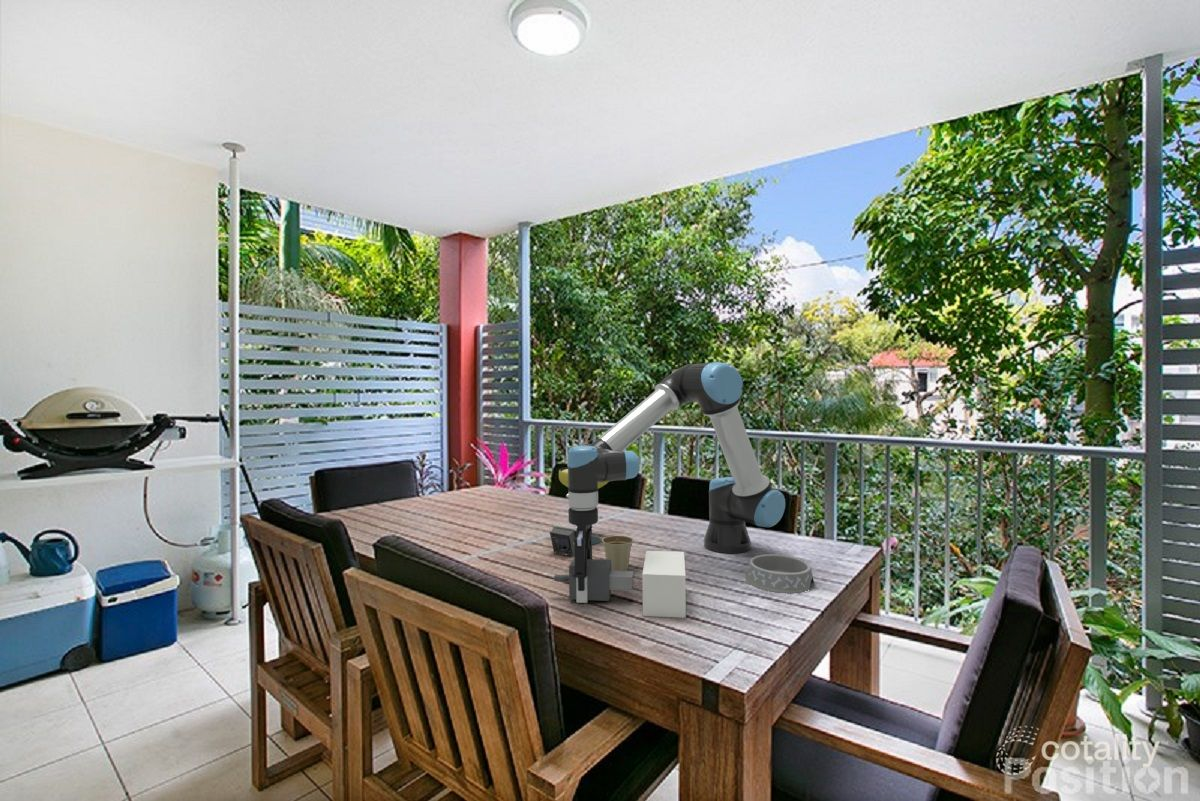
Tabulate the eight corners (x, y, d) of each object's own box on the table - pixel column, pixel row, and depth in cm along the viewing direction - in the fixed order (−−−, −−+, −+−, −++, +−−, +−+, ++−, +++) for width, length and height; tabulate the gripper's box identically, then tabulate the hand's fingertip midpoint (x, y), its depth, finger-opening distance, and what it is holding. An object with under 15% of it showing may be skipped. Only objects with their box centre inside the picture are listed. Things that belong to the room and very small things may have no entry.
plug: (633, 592, 143) (633, 560, 142) (632, 601, 137) (631, 568, 136) (556, 589, 145) (555, 557, 145) (551, 598, 139) (550, 565, 139)
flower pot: (638, 565, 166) (638, 537, 165) (626, 576, 157) (626, 546, 157) (609, 561, 170) (609, 533, 169) (596, 571, 161) (596, 542, 161)
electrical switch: (582, 554, 177) (580, 526, 176) (572, 560, 173) (570, 531, 172) (558, 549, 183) (556, 522, 181) (549, 555, 178) (547, 527, 177)
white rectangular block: (684, 588, 147) (683, 551, 147) (685, 617, 129) (685, 575, 129) (646, 587, 148) (646, 550, 148) (642, 615, 130) (642, 574, 130)
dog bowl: (817, 576, 156) (817, 557, 156) (807, 599, 140) (807, 578, 140) (756, 567, 164) (756, 549, 164) (739, 588, 148) (739, 568, 148)
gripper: (575, 498, 150) (576, 582, 151) (561, 516, 132) (562, 611, 132) (602, 499, 149) (603, 583, 150) (592, 516, 131) (593, 613, 131)
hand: (584, 596), depth 141 cm, fingers closed on plug, 6 cm apart
